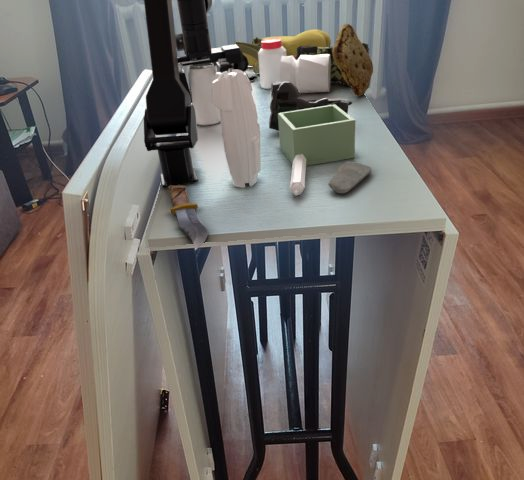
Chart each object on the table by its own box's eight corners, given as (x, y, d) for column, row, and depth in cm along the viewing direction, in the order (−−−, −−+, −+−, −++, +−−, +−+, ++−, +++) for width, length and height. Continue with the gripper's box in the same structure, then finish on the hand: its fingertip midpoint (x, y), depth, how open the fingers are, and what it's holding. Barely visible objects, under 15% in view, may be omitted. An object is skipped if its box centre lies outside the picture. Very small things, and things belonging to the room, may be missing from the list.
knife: (211, 243, 76) (176, 249, 75) (212, 252, 77) (178, 258, 76) (193, 178, 94) (165, 183, 94) (195, 186, 95) (167, 191, 95)
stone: (348, 157, 95) (375, 164, 93) (347, 165, 96) (373, 173, 95) (323, 182, 87) (352, 190, 86) (322, 190, 88) (351, 199, 87)
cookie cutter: (229, 45, 157) (230, 38, 156) (264, 43, 162) (265, 36, 161) (258, 77, 149) (259, 70, 148) (294, 74, 154) (295, 67, 153)
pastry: (372, 102, 139) (382, 98, 137) (335, 92, 126) (346, 87, 124) (362, 33, 137) (372, 28, 135) (324, 15, 124) (335, 9, 122)
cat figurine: (263, 132, 125) (338, 137, 127) (269, 130, 112) (352, 136, 114) (265, 85, 122) (342, 91, 124) (272, 78, 109) (358, 85, 111)
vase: (328, 99, 136) (281, 100, 139) (331, 81, 141) (286, 82, 144) (327, 64, 129) (278, 66, 132) (330, 46, 134) (283, 49, 137)
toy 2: (237, 79, 172) (319, 69, 155) (230, 47, 166) (314, 33, 150) (260, 67, 180) (340, 57, 164) (254, 36, 175) (336, 22, 158)
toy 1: (211, 87, 156) (233, 71, 166) (233, 89, 154) (254, 73, 163) (208, 59, 151) (231, 44, 160) (231, 61, 148) (253, 46, 158)
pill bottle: (256, 85, 151) (252, 41, 144) (280, 80, 153) (277, 36, 146) (267, 90, 145) (264, 44, 138) (293, 85, 147) (290, 39, 140)
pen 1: (215, 86, 150) (216, 91, 151) (218, 86, 149) (219, 91, 149) (255, 74, 156) (255, 79, 156) (258, 74, 154) (259, 78, 155)
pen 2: (347, 102, 129) (347, 100, 128) (270, 107, 133) (269, 104, 132) (347, 99, 129) (347, 96, 128) (270, 103, 133) (269, 101, 132)
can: (218, 125, 123) (210, 68, 116) (191, 126, 125) (182, 69, 117) (225, 117, 128) (218, 61, 121) (199, 118, 130) (191, 63, 122)
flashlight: (228, 193, 92) (269, 185, 93) (212, 80, 81) (259, 72, 82) (220, 180, 97) (259, 172, 98) (204, 72, 86) (248, 64, 87)
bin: (354, 157, 100) (355, 119, 96) (294, 167, 99) (292, 129, 94) (335, 139, 109) (335, 104, 105) (280, 148, 108) (277, 113, 103)
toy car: (295, 88, 143) (301, 80, 151) (366, 85, 139) (369, 78, 146) (294, 48, 137) (300, 42, 145) (368, 44, 133) (371, 38, 141)
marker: (295, 205, 87) (298, 168, 99) (306, 199, 86) (308, 162, 98) (286, 193, 86) (290, 156, 98) (297, 186, 85) (300, 150, 97)
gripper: (230, 11, 121) (239, 86, 131) (148, 23, 119) (163, 97, 129) (239, 18, 113) (247, 97, 122) (151, 31, 111) (166, 110, 121)
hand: (205, 100), depth 124 cm, fingers closed on can, 6 cm apart
